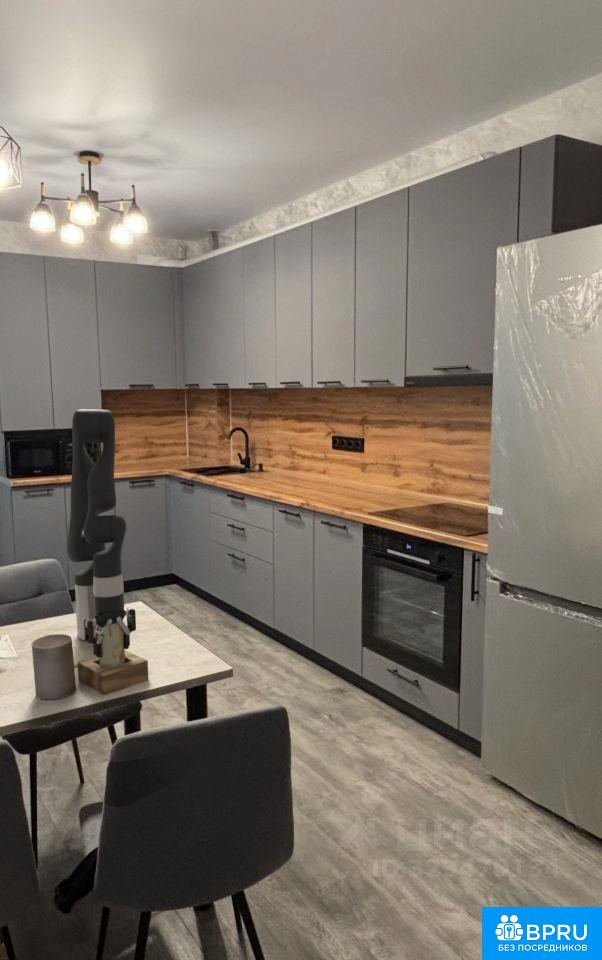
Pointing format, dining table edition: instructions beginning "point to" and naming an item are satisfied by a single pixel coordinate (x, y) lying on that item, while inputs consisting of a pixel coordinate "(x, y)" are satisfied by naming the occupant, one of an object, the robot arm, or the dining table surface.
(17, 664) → the dining table surface
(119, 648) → the skincare box
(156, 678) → the dining table surface
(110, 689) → the socket block
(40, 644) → the pillar candle
